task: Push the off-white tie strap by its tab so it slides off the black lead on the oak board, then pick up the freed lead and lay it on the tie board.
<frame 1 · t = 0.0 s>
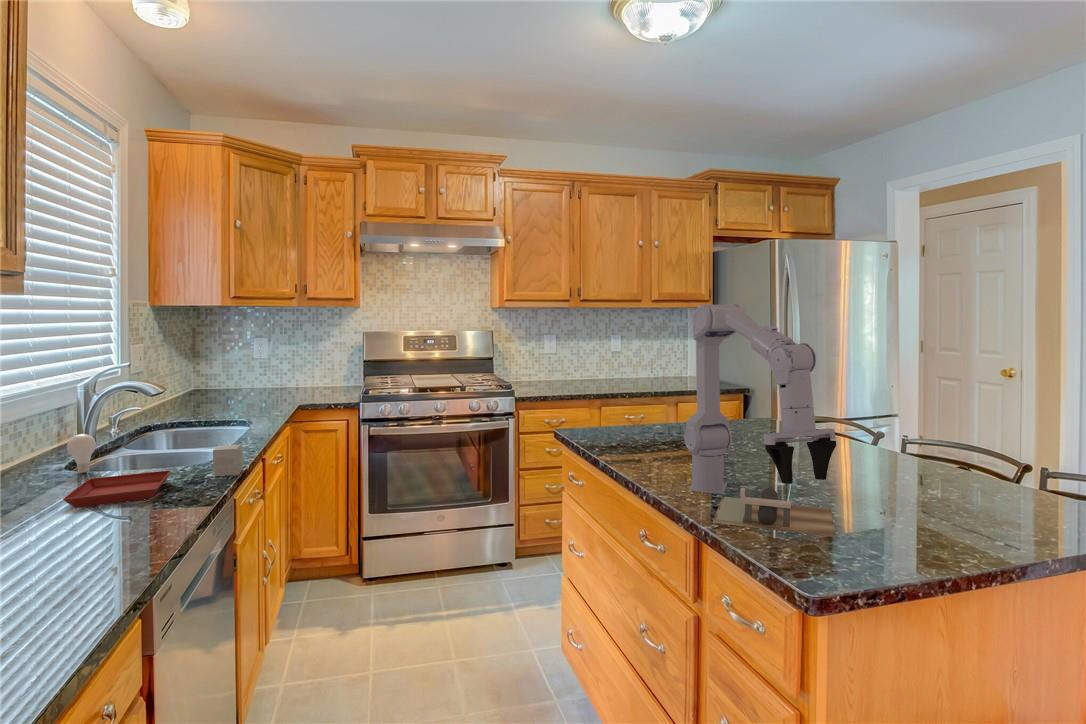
hand: (804, 481, 111), 11 cm above the countertop, tool pointing down, fingers open, 7 cm apart
plant saucer: (122, 497, 144), on the countertop
product box: (229, 474, 163), on the countertop
tie board: (773, 518, 122), on the countertop
lead: (768, 513, 122), point 1 cm above the countertop, touching tie board
tie strap: (765, 497, 117), point 6 cm above the countertop, slide at 0.0 cm
lightbulb: (83, 474, 164), on the countertop
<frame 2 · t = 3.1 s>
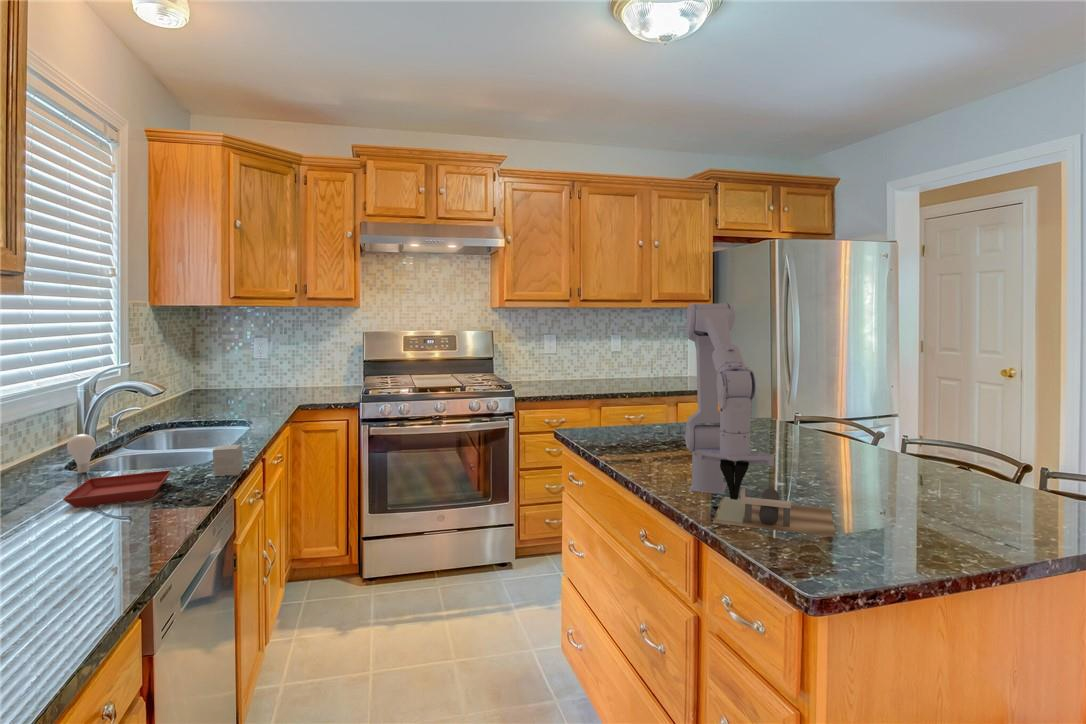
hand: (734, 498, 119), 5 cm above the countertop, tool pointing down, fingers closed
lead: (768, 513, 122), point 1 cm above the countertop, tilted 9°, touching tie board
tie strap: (765, 497, 117), point 6 cm above the countertop, slide at 0.0 cm, touching gripper
everything else where it was.
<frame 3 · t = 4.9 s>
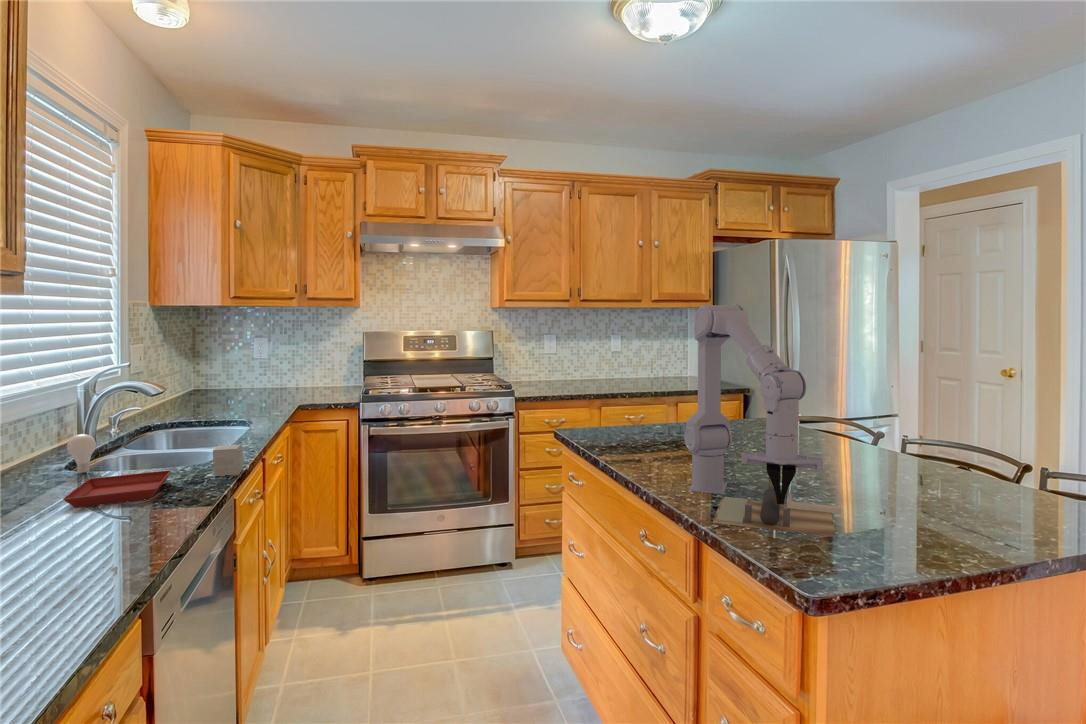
hand: (780, 502, 116), 5 cm above the countertop, tool pointing down, fingers closed
lead: (768, 513, 122), point 1 cm above the countertop, tilted 16°, touching tie board
tie strap: (813, 502, 113), point 6 cm above the countertop, slide at 8.6 cm, touching gripper
everything else where it was.
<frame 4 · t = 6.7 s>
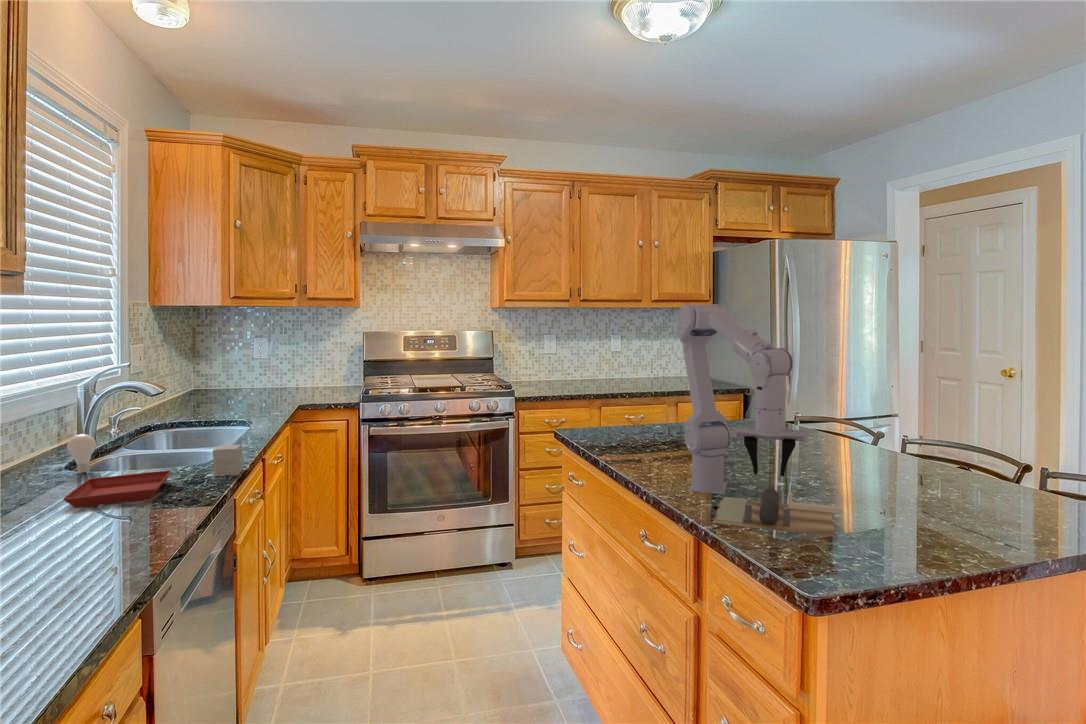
hand: (768, 474, 122), 9 cm above the countertop, tool pointing down, fingers open, 4 cm apart
lead: (768, 513, 122), point 1 cm above the countertop, tilted 9°, touching tie board
tie strap: (814, 502, 113), point 6 cm above the countertop, slide at 8.7 cm
everything else where it was.
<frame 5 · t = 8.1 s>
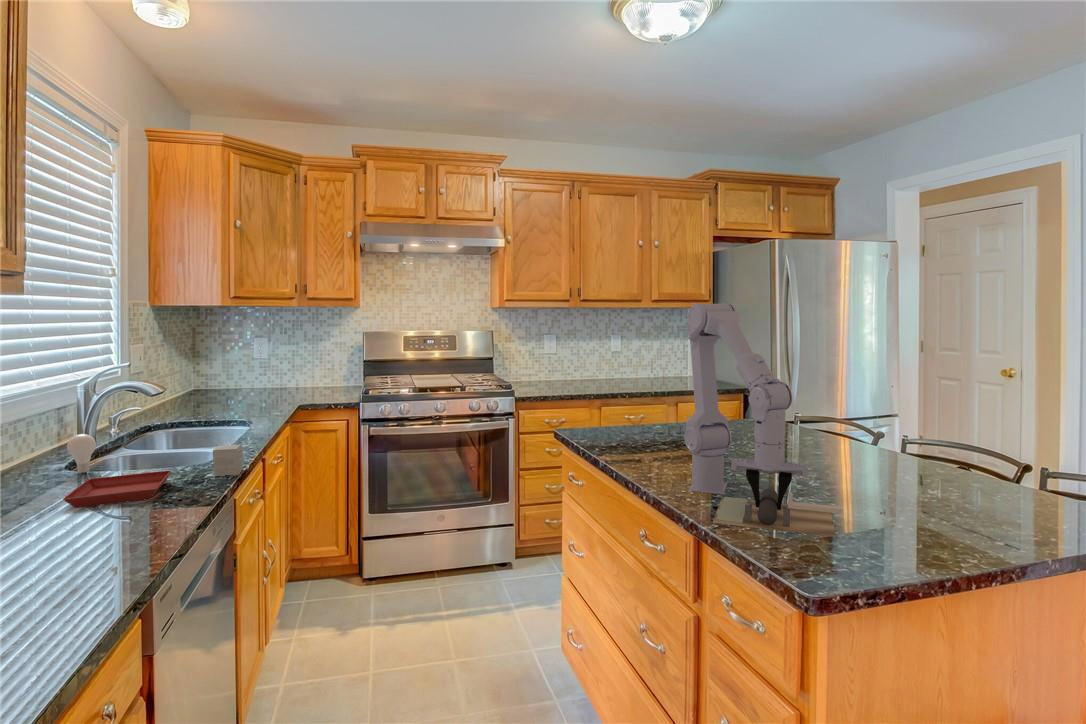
hand: (768, 507, 122), 2 cm above the countertop, tool pointing down, fingers closed on lead, 3 cm apart
lead: (768, 513, 122), point 1 cm above the countertop, touching gripper, tie board
everything else where it was.
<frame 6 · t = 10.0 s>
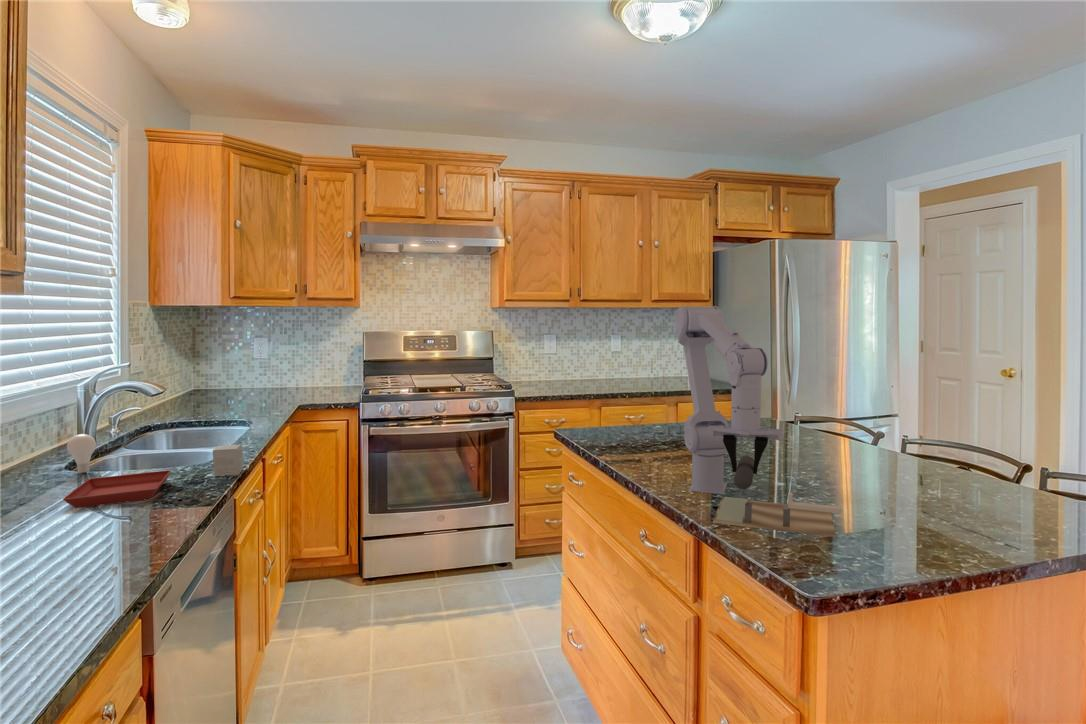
hand: (744, 471, 124), 9 cm above the countertop, tool pointing down, fingers closed on lead, 3 cm apart
lead: (745, 479, 124), point 7 cm above the countertop, touching gripper
everything else where it was.
when the fingers open (4 cm above the countertop, at t = 11.5 s): lead drops 1 cm, resting on tie board.
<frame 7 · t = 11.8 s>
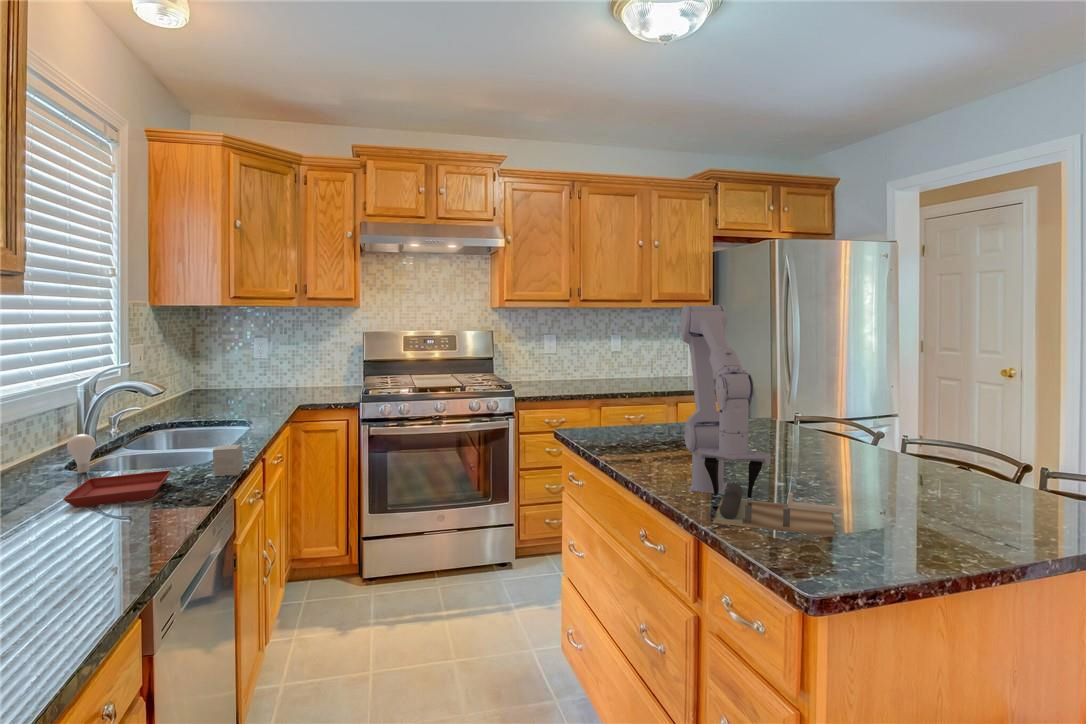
hand: (732, 495, 125), 4 cm above the countertop, tool pointing down, fingers open, 6 cm apart
lead: (733, 508, 125), point 1 cm above the countertop, tilted 11°, touching tie board
everything else where it was.
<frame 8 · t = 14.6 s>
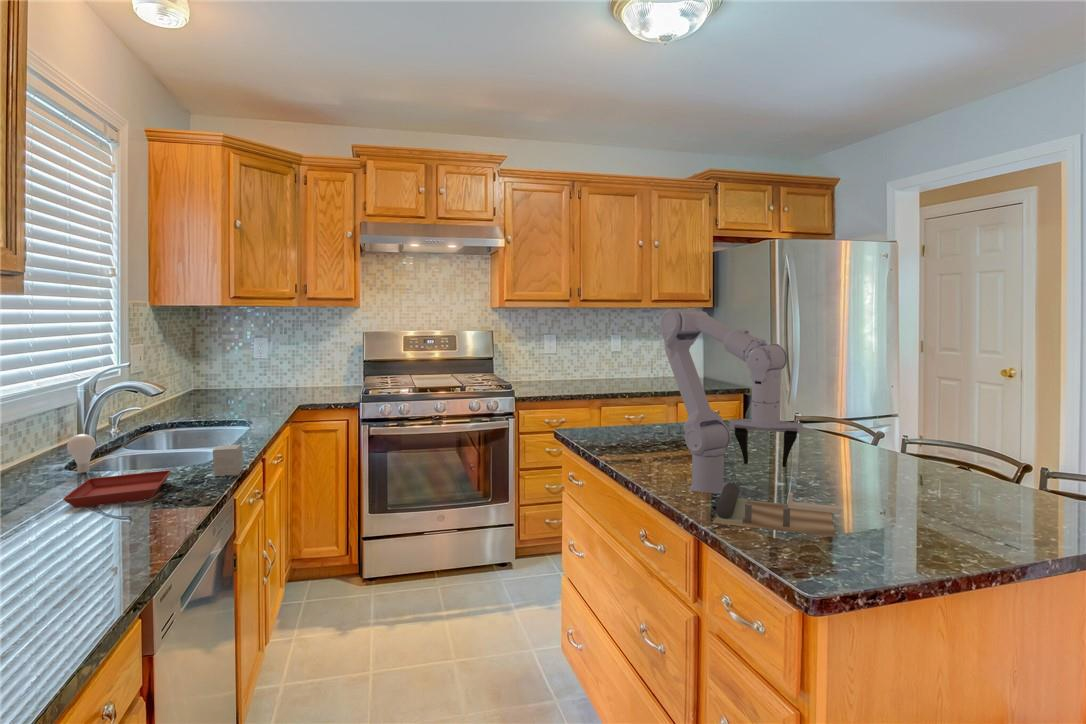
hand: (764, 464, 128), 9 cm above the countertop, tool pointing down, fingers open, 7 cm apart
lead: (733, 507, 125), point 1 cm above the countertop, tilted 38°, touching tie board
everything else where it was.
at the end: tie strap slide at 8.7 cm; lead 0.2 cm from the target spot, point 1.3 cm above the countertop; the gripper is holding nothing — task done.
